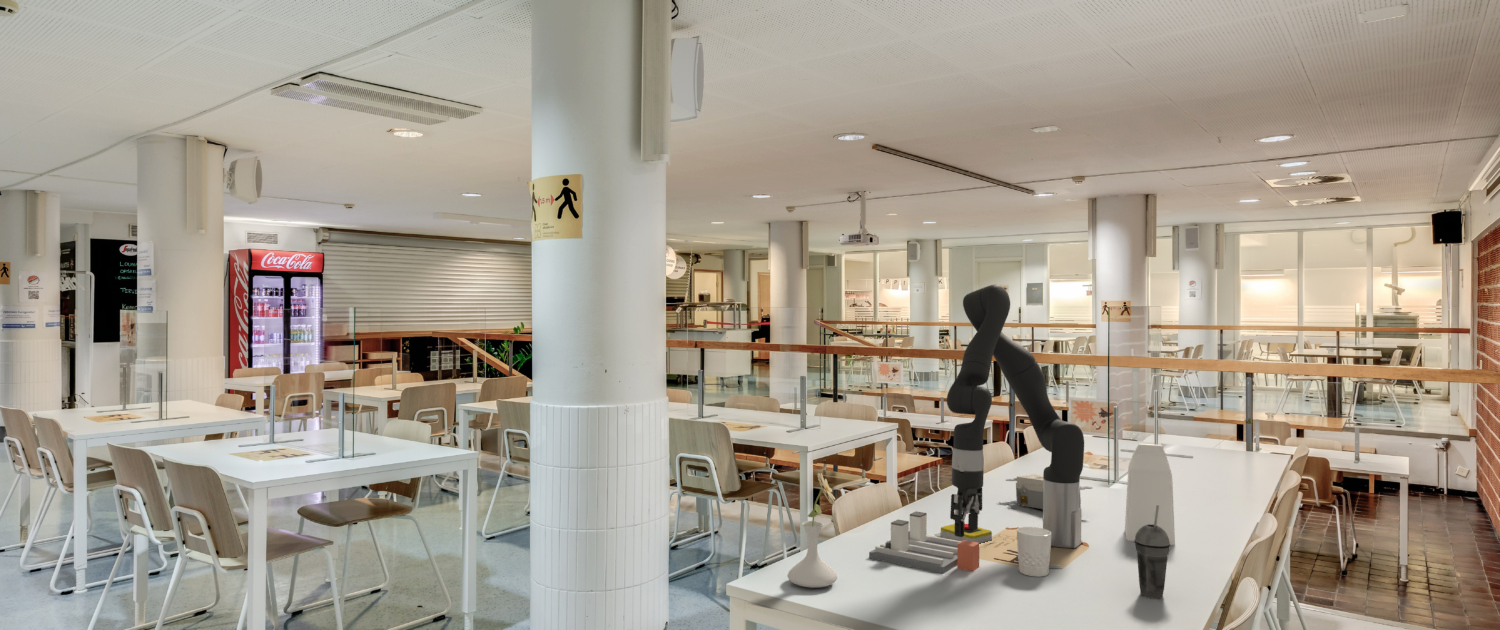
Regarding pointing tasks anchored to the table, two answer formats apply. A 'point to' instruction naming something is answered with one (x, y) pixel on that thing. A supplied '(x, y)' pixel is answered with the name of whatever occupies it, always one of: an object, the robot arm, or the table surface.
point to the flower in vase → (814, 550)
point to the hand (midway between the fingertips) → (966, 532)
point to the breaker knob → (900, 535)
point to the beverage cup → (1152, 558)
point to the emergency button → (966, 534)
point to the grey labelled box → (1033, 490)
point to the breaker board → (921, 554)
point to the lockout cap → (968, 555)
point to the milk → (1149, 491)
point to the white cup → (1033, 551)
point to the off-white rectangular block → (918, 526)
